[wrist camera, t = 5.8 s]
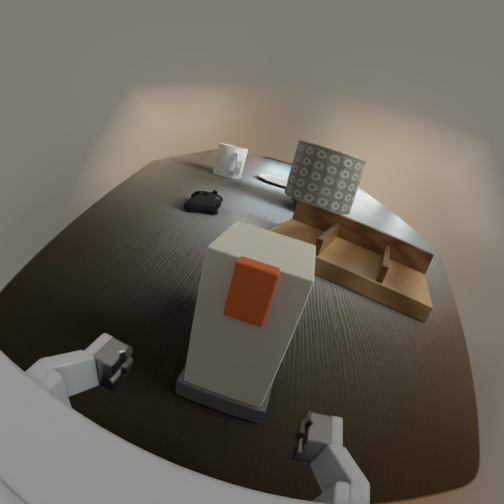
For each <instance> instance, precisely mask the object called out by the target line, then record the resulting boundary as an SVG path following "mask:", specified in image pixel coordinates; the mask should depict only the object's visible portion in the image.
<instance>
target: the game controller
mask: <svg viewBox="0 0 504 504" xmlns="http://www.w3.org/2000/svg"><path fill="white" fill-rule="evenodd" d="M216 193H218V192H217V191H215V190H213V192H211V193H210V192H206V191H197V192H194V193H193V194H192V195H191V199H189V200H188V201H186V202H185V203H184V209H185V210H186V211H189V212H196V211H207V212H209V213H210V214H218V213H217V210H218V208H219V207H220V205H221V201H222V200H223V198H222V197H221V196H219V195H218V194H216Z"/></svg>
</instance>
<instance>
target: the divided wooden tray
mask: <svg viewBox="0 0 504 504" xmlns="http://www.w3.org/2000/svg"><path fill="white" fill-rule="evenodd" d="M267 230H268V231H272V232H275V233H278V234H281V235H284V236H288V237H291V238H294V239H297V240H300V241H303V242H306V243H309V244H313V245H315V246H316V258H315V274H316V275H318V276H321V277H323V278H325V279H327V280H330V281H332V282H334V283H337V284H339V285H341V286H343V287H346V288H348V289H350V290H353V291H355V292H357V293H359V294H362V295H364V296H366V297H368V298H371V299H373V300H375V301H377V302H380V303H382V304H384V305H387V306H389V307H391V308H393V309H396V310H398V311H400V312H402V313H405V314H407V315H409V316H411V317H414V318H416V319H418V320H420V321H423V322H426V320H427V318H428V316H429V314H430V313H431V311H432V309H433V306H432V302H431V297H430V293H429V289H428V285H427V281H426V277H425V273H426V271H427V269H428V267H429V264H430V262H431V260H432V258H433V254H432V253H430V252H428V251H426V250H423V249H421V248H419V247H417V246H415V245H412V244H410V243H408V242H406V241H403V240H401V239H399V238H396V237H394V236H392V235H389V234H387V233H385V232H382V231H380V230H378V229H375V228H373V227H370V226H368V225H365V224H363V223H360V222H358V221H355V220H353V219H350V218H348V217H345V216H343V215H340V214H338V213H335V212H333V211H330V210H327V209H325V208H322V207H319V206H317V205H314V204H311V203H309V202H306V201H303V200H300V199H299V200H298V201H297V205H296V208H295V211H294V215H293V218H292V219H291V220H289V221H286V222H284V223H281V224H279V225H277V226H274V227H272V228H270V229H267Z"/></svg>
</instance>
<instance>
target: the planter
mask: <svg viewBox="0 0 504 504" xmlns="http://www.w3.org/2000/svg"><path fill="white" fill-rule="evenodd" d="M364 165H365V161H364V160H361V159H359V158H356V157H354V156H351V155H348V154H345V153H342V152H339V151H336V150H333V149H330V148H327V147H324V146H320V145H317V144H314V143H310V142H306V141H302V140H299V142H298V145H297V149H296V153H295V156H294V160H293V163H292V167H291V170H290V174H289V178H288V181H287V185H286V188H285V194H286V195H288V196H289V197H291V198H292V200H293V201H294V203H295V204H296V205H297V201H298V200H299V199H300V200H303V201H306V202H309V203H311V204H314V205H317V206H319V207H322V208H325V209H327V210H330V211H333V212H335V213H338V214H349V213H350V210H351V207H352V204H353V201H354V198H355V194H356V191H357V188H358V185H359V182H360V179H361V175H362V172H363V169H364Z"/></svg>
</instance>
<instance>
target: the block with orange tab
mask: <svg viewBox="0 0 504 504" xmlns="http://www.w3.org/2000/svg"><path fill="white" fill-rule="evenodd" d="M315 258H316V246H315V245H313V244H309V243H306V242H303V241H300V240H297V239H294V238H291V237H288V236H284V235H281V234H278V233H275V232H272V231H268V230H265V229H262V228H259V227H256V226H252V225H249V224H246V223H243V222H239V221H236V222H234V223H233V224H232V225H231V226H230V227H229V228H228V229H226V230H225V231H224V232H223V233H222V234H221V235H220V236H219V237H217V238H216V239H215V240H214V241H213V242H212V243H211V244H210V245H208V246H207V249H206V254H205V259H204V264H203V269H202V274H201V279H200V285H199V290H198V296H197V301H196V307H195V312H194V318H193V324H192V330H191V336H190V342H189V348H188V355H187V361H186V366H185V368H184V369H183V371H182V373H181V374H180V376H179V377H178V379H177V382H176V390H175V393H176V394H178V395H180V396H182V397H185V398H187V399H190V400H192V401H195V402H197V403H200V404H202V405H205V406H208V407H210V408H213V409H216V410H219V411H221V412H224V413H227V414H230V415H233V416H236V417H239V418H242V419H245V420H248V421H251V422H255V423H258V424H259V423H260V422H261V420H262V418H263V416H264V414H265V412H266V409H267V405H268V401H269V397H270V393H271V389H272V385H273V381H274V377H275V375H276V373H277V371H278V369H279V366H280V364H281V362H282V359H283V357H284V355H285V353H286V350H287V348H288V346H289V343H290V341H291V339H292V336H293V334H294V331H295V329H296V327H297V324H298V322H299V319H300V317H301V314H302V312H303V309H304V307H305V304H306V302H307V299H308V297H309V294H310V292H311V289H312V286H313V284H314V276H315Z"/></svg>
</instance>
